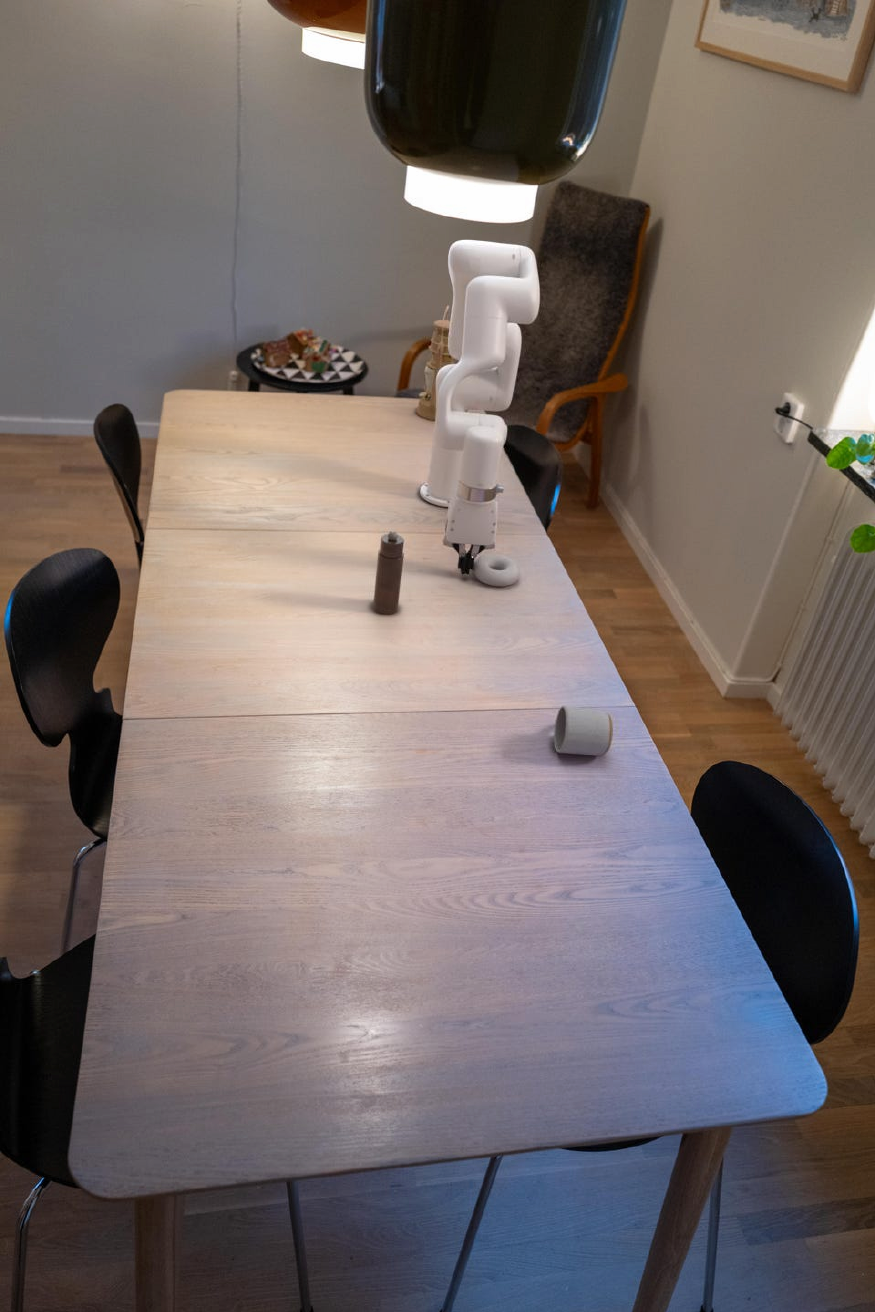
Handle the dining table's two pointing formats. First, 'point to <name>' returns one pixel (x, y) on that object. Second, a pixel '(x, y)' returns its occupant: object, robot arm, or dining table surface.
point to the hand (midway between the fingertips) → (464, 571)
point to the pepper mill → (388, 574)
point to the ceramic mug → (582, 731)
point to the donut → (496, 570)
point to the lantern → (435, 367)
